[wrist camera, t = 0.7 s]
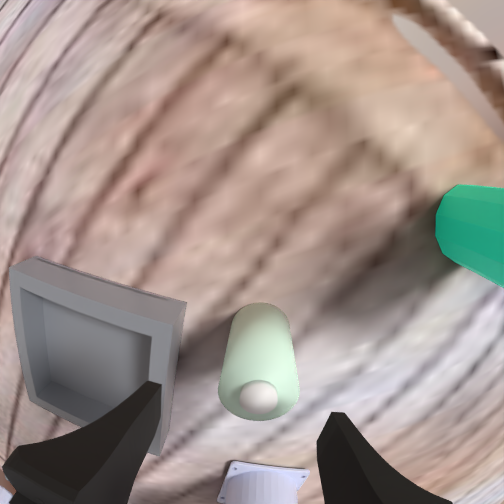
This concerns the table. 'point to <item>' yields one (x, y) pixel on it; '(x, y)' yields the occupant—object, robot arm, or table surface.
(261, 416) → the cylinder
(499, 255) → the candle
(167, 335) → the bin
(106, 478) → the robot arm
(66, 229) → the table surface
